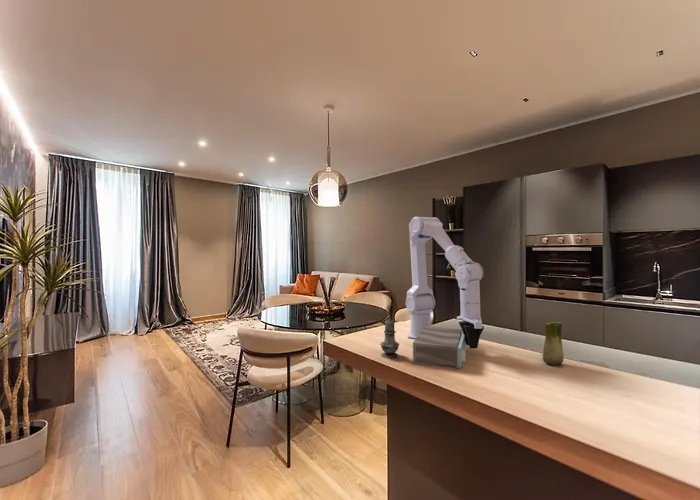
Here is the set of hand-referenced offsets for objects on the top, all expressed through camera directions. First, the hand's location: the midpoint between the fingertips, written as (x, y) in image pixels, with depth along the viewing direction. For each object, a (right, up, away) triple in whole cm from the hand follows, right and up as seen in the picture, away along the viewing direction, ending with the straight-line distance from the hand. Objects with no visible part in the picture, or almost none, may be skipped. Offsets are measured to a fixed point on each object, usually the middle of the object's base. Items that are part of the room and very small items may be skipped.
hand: (471, 346), depth 100 cm
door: (-3, -2, -2) cm, 4 cm away
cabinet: (-10, -3, 0) cm, 10 cm away
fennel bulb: (+20, -3, -8) cm, 22 cm away
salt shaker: (-25, -3, 0) cm, 25 cm away
